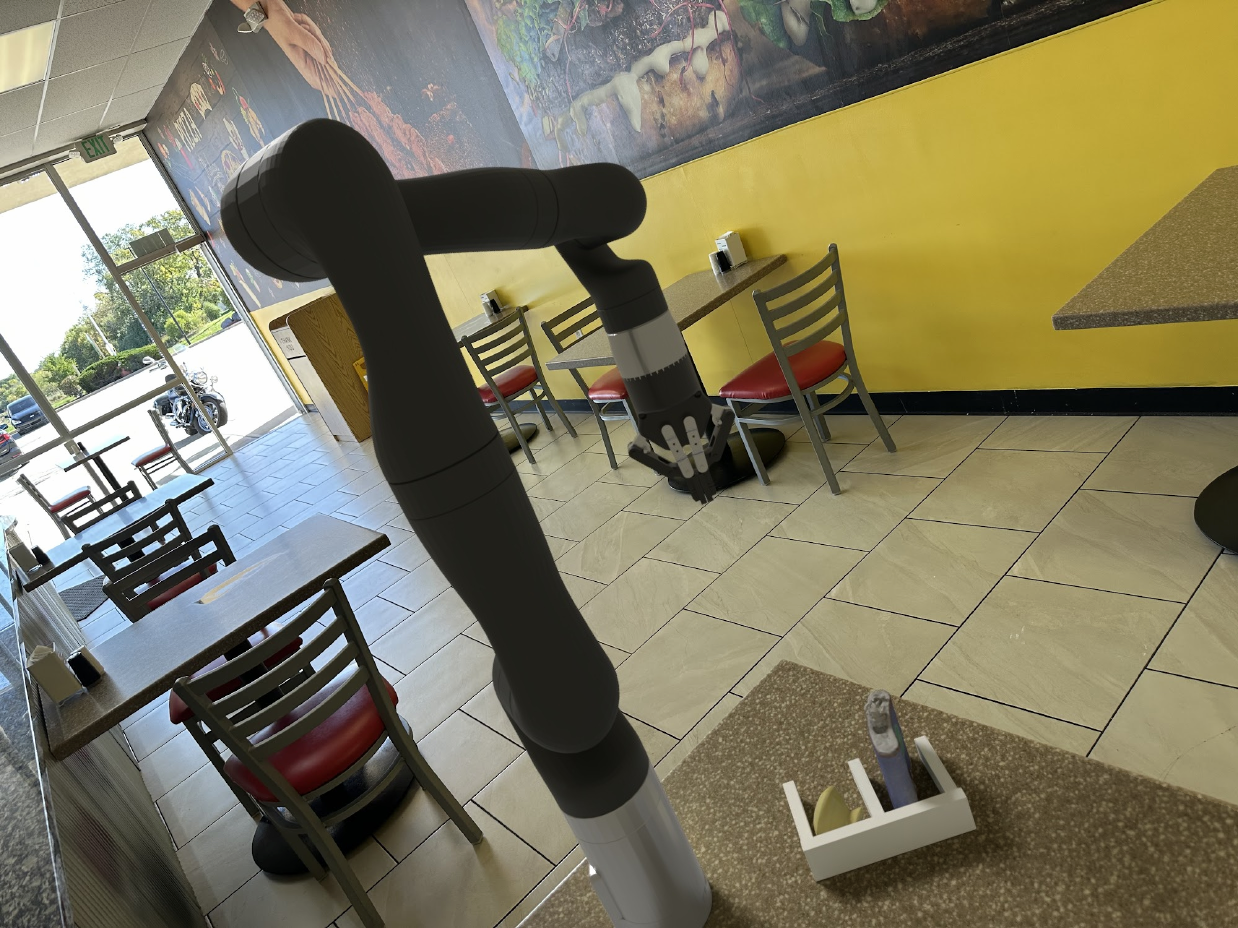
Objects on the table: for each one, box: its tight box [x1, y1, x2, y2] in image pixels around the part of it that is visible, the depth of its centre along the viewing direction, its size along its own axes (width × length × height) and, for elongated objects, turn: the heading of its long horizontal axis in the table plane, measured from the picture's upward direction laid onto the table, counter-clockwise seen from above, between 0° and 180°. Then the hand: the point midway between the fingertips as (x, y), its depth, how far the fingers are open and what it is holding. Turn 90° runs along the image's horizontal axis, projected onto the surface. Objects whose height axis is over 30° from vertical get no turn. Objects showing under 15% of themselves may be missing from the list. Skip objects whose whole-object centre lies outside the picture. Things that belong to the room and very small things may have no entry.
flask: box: [863, 688, 920, 810], centre depth 79 cm, size 9×3×11 cm, turn 169°
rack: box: [782, 735, 977, 883], centre depth 78 cm, size 16×10×4 cm, turn 92°
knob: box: [813, 785, 865, 836], centre depth 77 cm, size 5×5×5 cm
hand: (707, 500), depth 90 cm, fingers closed
